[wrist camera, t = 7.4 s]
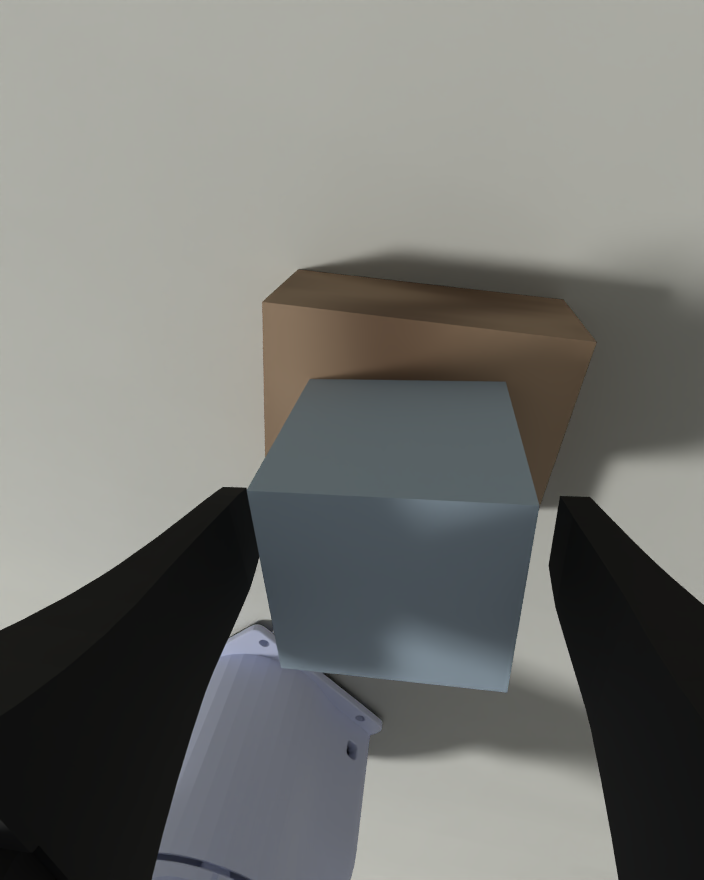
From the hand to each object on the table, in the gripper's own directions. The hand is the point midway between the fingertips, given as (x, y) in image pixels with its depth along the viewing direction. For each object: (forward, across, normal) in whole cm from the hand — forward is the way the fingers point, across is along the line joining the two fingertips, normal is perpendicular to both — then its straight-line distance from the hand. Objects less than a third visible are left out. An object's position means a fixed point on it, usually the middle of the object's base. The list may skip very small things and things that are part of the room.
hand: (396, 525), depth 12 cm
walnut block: (+7, 0, 0) cm, 7 cm away
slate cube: (+3, 0, 0) cm, 3 cm away
